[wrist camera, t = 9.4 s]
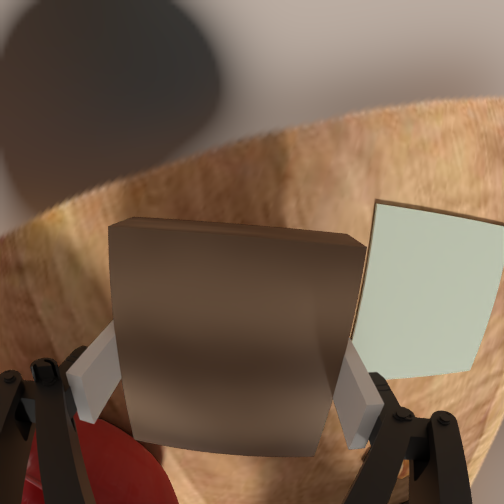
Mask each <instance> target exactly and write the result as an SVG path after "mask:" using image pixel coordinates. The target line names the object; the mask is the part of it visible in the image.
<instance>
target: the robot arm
mask: <svg viewBox="0 0 504 504" xmlns="http://www.w3.org/2000/svg"><path fill="white" fill-rule="evenodd" d="M30 368H31V371H32V375H33V378H34V381H26V380H23V379H22V376H21V374H20V373H19V372H18V371H15V370H8V371H5V372H3V373H1V374H0V504H21V502H22V495H23V488H24V482H25V476H26V470H27V465H28V460H29V455H30V450H31V446H32V441H33V437H34V433H35V429H36V440H37V452H38V462H39V470H40V477H41V484H42V490H43V496H44V501H45V504H96V502H95V499H94V495H93V492H92V489H91V486H90V482H89V479H88V475H87V472H86V468H85V464H84V460H83V456H82V452H81V447H80V443H79V438H78V434H77V429H76V423H75V420H74V417H73V416H74V415H75V413H76V412H78V415H79V418H80V420H82V421H86V422H89V423H92V424H95V422H96V420H97V418H98V417H99V415H100V413H101V412H102V410H103V408H104V406H105V405H106V403H107V401H108V400H109V398H110V396H111V395H112V393H113V391H114V390H115V388H116V386H117V385H118V383H119V381H120V380H121V378H122V377H121V371H120V365H119V358H118V351H117V344H116V336H115V330H114V321H113V320H112V321H111V322H110V323H109V325H108V326H107V327H106V328H105V329H104V330H103V331H102V332H101V333H100V334H99V336H98V337H97V338H96V339H95V340H94V341H93V342H92V343H91V345H90V346H89V347H86V346H81V347H79V348H77V349H75V350H74V351H73V352H72V353H71V354H70V356H68V357H67V359H66V361H64V362H63V363H62V364H61V365H60V366H59V367H58V365H57V362H56V361H55V360H54V359H50V358H41V359H38V360H36V361H34V362H33V363H32V364H31V367H30ZM333 400H334V404H335V407H336V410H337V413H338V416H339V420H340V423H341V426H342V429H343V433H344V436H345V439H346V442H347V446H348V449H349V450H350V449H361V448H365V446H366V444H367V442H368V440H369V441H370V444H371V448H370V450H369V452H368V454H367V456H366V458H365V460H364V462H363V464H362V466H361V468H360V470H359V472H358V474H357V476H356V478H355V480H354V482H353V484H352V486H351V488H350V490H349V491H348V493H347V495H346V497H345V499H344V500H343V502H342V504H387V503H388V501H389V498H390V496H391V493H392V491H393V488H394V485H395V483H396V480H397V477H398V474H399V472H400V469H401V466H402V463H403V460H409V501H407V502H405V503H402V504H472V498H471V490H470V483H469V477H468V471H467V465H466V460H465V455H464V450H463V445H462V441H461V436H460V432H459V427H458V423H457V420H456V418H455V417H454V416H453V415H452V414H451V413H449V412H446V411H436V412H434V413H433V414H432V416H431V418H430V419H426V418H417V417H415V415H414V414H413V412H412V411H410V410H409V409H407V408H405V407H401V406H400V405H399V403H398V401H397V399H396V397H395V396H394V394H393V392H392V391H391V389H390V387H389V385H388V383H387V382H386V380H385V378H384V377H383V376H381V375H380V374H379V373H378V372H368V371H367V369H366V367H365V366H364V364H363V362H362V360H361V358H360V356H359V354H358V352H357V351H356V349H355V347H354V345H353V343H352V341H351V339H350V338H349V340H348V344H347V348H346V352H345V355H344V358H343V362H342V366H341V370H340V373H339V377H338V381H337V384H336V388H335V391H334V395H333Z"/></svg>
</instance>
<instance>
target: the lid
mask: <svg viewBox="0 0 504 504" xmlns="http://www.w3.org/2000/svg"><path fill="white" fill-rule="evenodd" d="M108 241H109V270H110V286H111V300H112V311H113V321H114V330H115V336H116V344H117V351H118V358H119V365H120V371H121V377H122V378H121V379H122V385H123V390H124V396H125V401H126V406H127V411H128V415H129V420H130V425H131V429H132V433H133V437H134V440H139V441H143V442H148V443H153V444H158V445H163V446H169V447H174V448H180V449H187V450H194V451H201V452H210V453H219V454H230V455H243V456H262V457H314V455H315V452H316V449H317V446H318V443H319V440H320V437H321V434H322V431H323V428H324V425H325V422H326V419H327V416H328V413H329V410H330V406H331V403H332V400H333V395H334V391H335V388H336V384H337V381H338V377H339V373H340V370H341V366H342V362H343V358H344V355H345V352H346V348H347V344H348V340H349V336H350V331H351V327H352V323H353V318H354V313H355V309H356V304H357V299H358V294H359V289H360V284H361V278H362V273H363V267H364V261H365V255H366V249H367V247H366V246H364V245H363V244H361V243H360V242H358V241H357V240H355V239H354V238H352V237H351V236H349V235H348V234H342V233H332V232H322V231H312V230H301V229H290V228H279V227H267V226H255V225H243V224H230V223H217V222H204V221H190V220H175V219H159V218H143V217H132V218H129V219H126V220H124V221H121V222H118V223H116V224H113V225H110V226H108Z"/></svg>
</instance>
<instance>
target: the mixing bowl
mask: <svg viewBox="0 0 504 504" xmlns="http://www.w3.org/2000/svg"><path fill="white" fill-rule="evenodd" d="M73 417H74V420H75V423H76V429H77V434H78V438H79V443H80V447H81V452H82V456H83V460H84V464H85V468H86V472H87V475H88V479H89V482H90V486H91V489H92V492H93V495H94V499H95V502H96V504H179V503H178V500H177V497H176V495H175V492H174V489H173V487H172V485H171V482H170V480H169V478H168V476H167V474H166V472H165V471H164V469H163V468H162V466H161V465H160V464H159V463H158V461H157V460H156V459H155V458H154V456H153V455H152V454H151V453H150V452H149V451H148V450H147V449H145V448H144V447H143V446H142V445H141V444H140V443H139V442H137V441H136V440H134V438H132V437H131V436H130V435H128V434H127V433H126V432H124V431H122V430H121V429H119V428H118V427H116V426H114V425H112V424H110V423H108V422H106V421H104V420H102V419H99V418H97V420H96V422H95V424H92V423H89V422H86V421H82V420H80V418H79V415H78V412H76V413H75V415H74V416H73ZM21 504H45V501H44V496H43V490H42V484H41V477H40V470H39V462H38V452H37V440H36V429H35V433H34V437H33V441H32V446H31V450H30V455H29V460H28V465H27V470H26V476H25V482H24V488H23V495H22V502H21Z"/></svg>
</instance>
